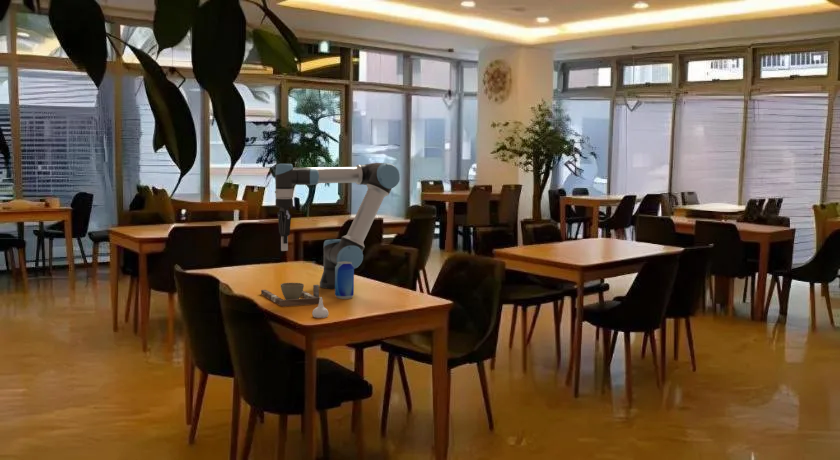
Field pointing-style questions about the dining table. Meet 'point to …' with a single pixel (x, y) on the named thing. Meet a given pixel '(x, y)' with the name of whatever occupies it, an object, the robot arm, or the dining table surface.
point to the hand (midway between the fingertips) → (284, 250)
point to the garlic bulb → (320, 310)
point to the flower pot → (292, 290)
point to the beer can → (344, 280)
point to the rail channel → (294, 302)
